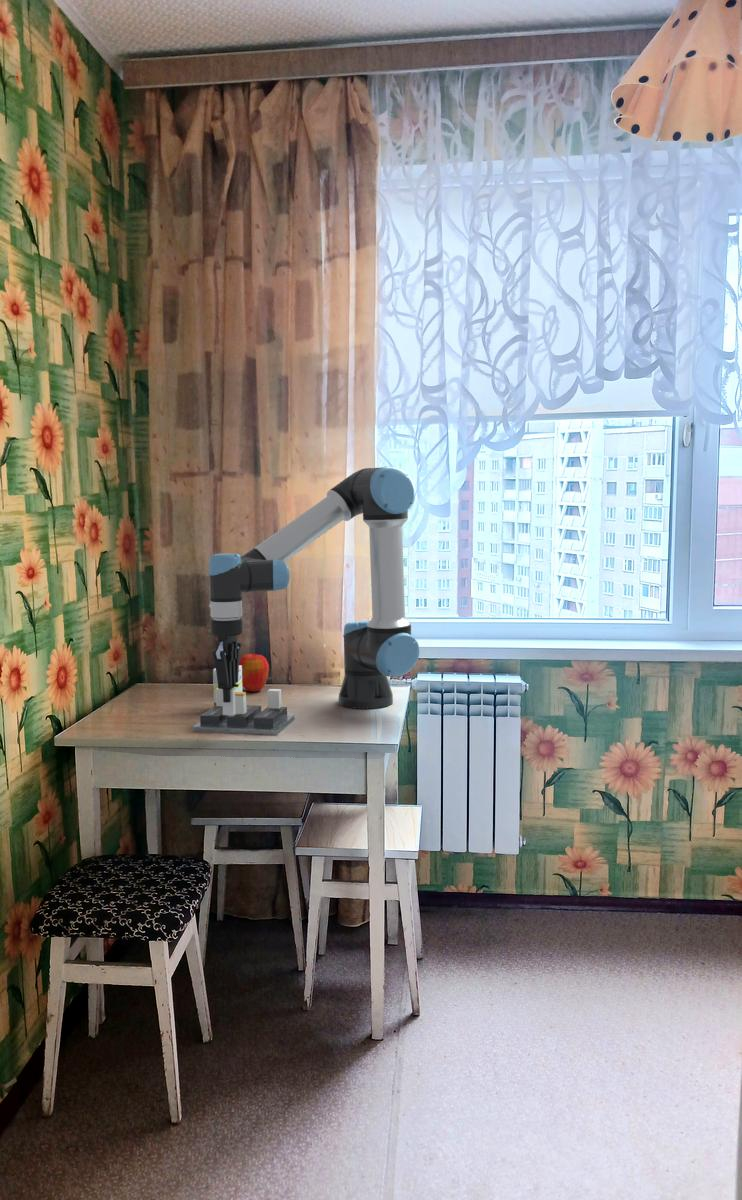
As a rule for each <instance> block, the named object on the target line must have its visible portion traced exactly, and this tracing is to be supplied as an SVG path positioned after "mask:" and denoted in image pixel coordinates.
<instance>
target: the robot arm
mask: <svg viewBox="0 0 742 1200" xmlns="http://www.w3.org/2000/svg"><path fill="white" fill-rule="evenodd" d="M415 497H416V488H415V484H414V481H413V480H412V478H411V476H410V475H409V474H408V473H406V471H404V470H402V469H400V468H397V467H392V466H382V467H365V468H361V469H359V470H357V471H355V472H353V473H352V474H350V475H348V476H347V477H346V478H344V479H343V480H342V481H341V482H339V483H338V484H336V485H335V486H333V487H332V488H330V489H329V490H328V491H327V492H326V497H325V498H323V499H322V500H320V501H318V502H317V503H316V504H314V505H313V506H312V507H310V508H309V509H308V510H306V511H305V512H303V513H302V514H300V515H299V516H297V517H295V519H293V520H292V521H290V522H289V523H288V524H286V525H285V526H283V527H281V528H280V529H279V530H277V531H276V532H275V533H273V534H272V535H271V536H269V537H267V538H266V539H265V540H264V541H261V542H260V543H259V544H257V545H256V546H255V547H253V548H252V549H251V550H249V551H247V552H246V553H245V554H242V555H240V554H239V553H234V552H233V553H231V552H229V553H215V554H212V555H211V556H210V557H209V560H208V561H209V563H208V579H209V604H208V608H210V617H211V618H212V619H211V620H210V634H211V635H212V636H215V637H217V643H216V650H213V652H212V656H213V658H214V659H213V660H214V664H215V668H216V673H217V681H218V689H222V705H223V715H235V688H234V687H238V686H239V684H236V683H238V674H239V660H240V653H241V647H242V644H241V642H238V640H237V639H238V638H237V636H240V635H242V634H243V631H244V629H243V619H242V618H241V617H242V616H243V596H242V595H243V593H250V592H251V593H253V592H270V591H271V592H276V591H282V590H285V589H286V588H288V586H289V583H290V578H291V577H290V569H289V565H288V564H287V562H286V561H288V560H290V559H291V558H293V556H294V555H296V554H297V553H299V552H301V551H302V550H303V549H305V548H306V547H308V546H309V545H310V544H311V543H313V542H315V541H316V540H317V539H318V538H320V537H322V536H323V535H324V534H326V533H328V531H330V530H332V529H333V528H334V527H336V526H337V525H339V524H340V523H341V522H343V521H344V522H349V521H350V520H351V519H354V517H356V516H359V515H361V514H362V520H363V522H364V523H365V524H366V525H367V526H368V528H369V529H368V530H369V531H368V532H369V533H368V534H369V556H370V557H369V561H370V587H371V591H370V593H371V612H372V613H371V614H372V616H371V619H370V620H360V621H351V622H346V624H344V627H343V635H342V638H343V658H344V659H343V660H344V661H343V662H344V664H343V665H344V675H343V676H344V677H343V680H342V683H341V687H340V689H339V692H338V704H339V705H340V706H342V707H346V708H352V709H378V708H385V707H388V706H391V705H392V704H393V702H394V701H393V700H394V697H393V691H392V688H391V685H390V683H389V679H388V676H389V677H390V676H391V677H401V676H404V675H406V674H408V673H410V672H411V671H412V670H413V668H415V666H416V664H417V663H418V661H419V658H420V646H419V642H418V640H416V638H415V636H414V635H412V624H411V623H412V622H411V621H409V619H408V618H407V617H406V611H405V605H406V604H405V576H404V575H405V573H404V572H405V571H404V547H403V546H404V544H403V538H404V537H403V526H404V524H405V523H406V522H407V521H408V519H409V517H408V515H409V513H408V512H409V511H408V510H410V508H411V507H412V505H413V503H414V501H415Z"/></svg>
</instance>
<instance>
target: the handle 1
mask: <svg viewBox="0 0 742 1200" xmlns="http://www.w3.org/2000/svg"><path fill="white" fill-rule="evenodd" d="M216 706H223V705H222V689H218V688H216Z"/></svg>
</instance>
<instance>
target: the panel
mask: <svg viewBox="0 0 742 1200" xmlns="http://www.w3.org/2000/svg"><path fill="white" fill-rule="evenodd" d="M246 707H247V712H246V713H245V714H235V715H223V706H214V705H213V706H212V707H211V708H209V709H208V710H207V711H205V712H203V713H202V714H200V715H199V722H196V724H194V725H193V726H192V727H191V728H192V732H196V733H197V732H199V733H200V732H201V733H222V734H224V733H227V734H245V735H246V734H248V735H271V736H272V735H273V736H278V735H279V734H280V733H281V732H283V731H284V730H285V729H286V728H287V727H288V726H289V725H291V723H293V722H294V721H295V720H296V719H295V714H288V706H282V707H280V708H268V706H267V707H266V708H264V709H263V710H262V705H253V704H252V705H247V704H246Z"/></svg>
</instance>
